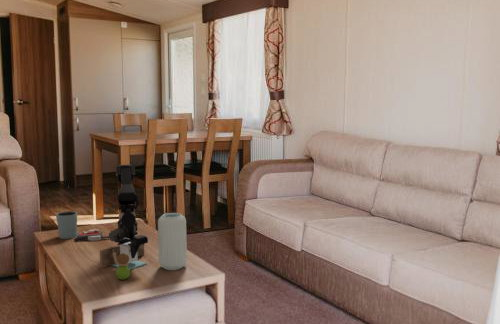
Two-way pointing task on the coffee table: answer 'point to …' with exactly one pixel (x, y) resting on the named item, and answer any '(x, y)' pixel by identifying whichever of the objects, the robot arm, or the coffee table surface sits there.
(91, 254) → the coffee table surface
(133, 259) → the white rectangular block
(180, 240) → the vase
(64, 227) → the grey-blue cup
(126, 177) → the robot arm
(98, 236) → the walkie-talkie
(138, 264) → the teal mat
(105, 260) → the walnut screen
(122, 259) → the snail figurine
